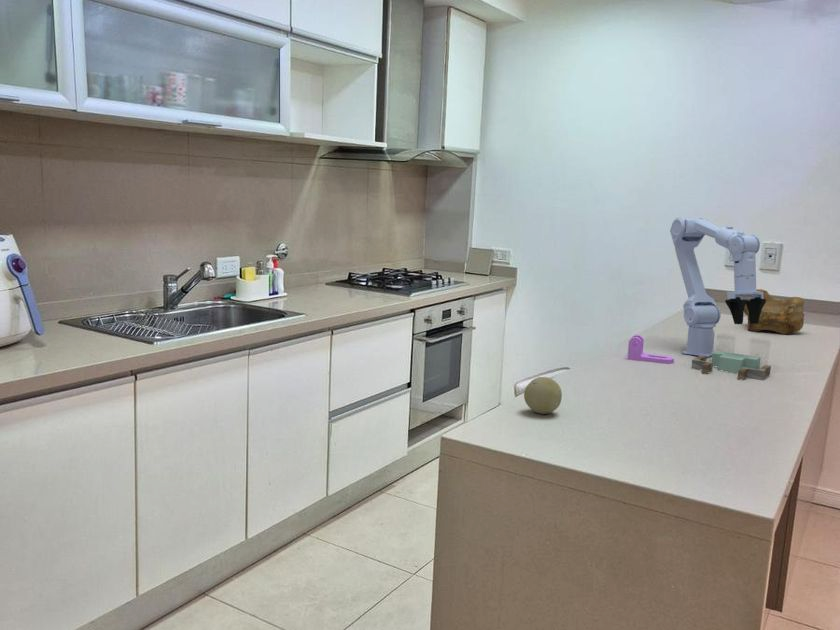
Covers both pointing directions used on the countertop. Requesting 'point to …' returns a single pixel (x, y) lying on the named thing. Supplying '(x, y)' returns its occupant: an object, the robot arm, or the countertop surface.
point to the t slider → (734, 361)
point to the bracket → (637, 353)
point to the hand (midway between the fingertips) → (746, 324)
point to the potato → (543, 395)
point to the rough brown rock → (778, 314)
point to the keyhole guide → (742, 373)
